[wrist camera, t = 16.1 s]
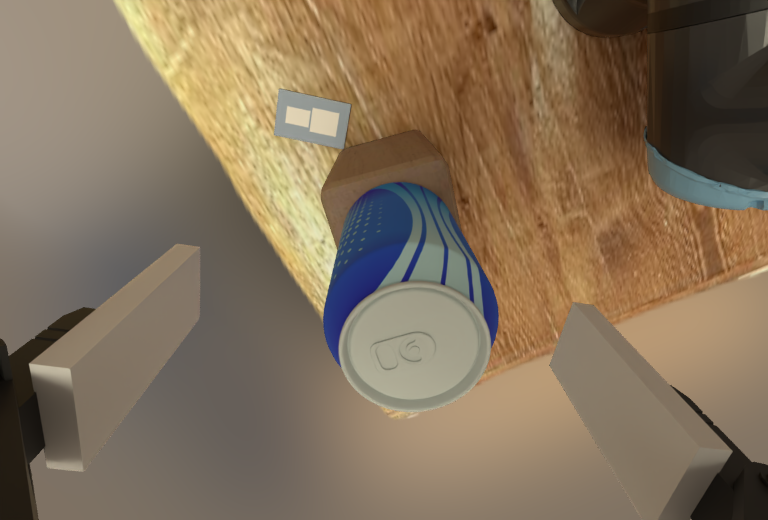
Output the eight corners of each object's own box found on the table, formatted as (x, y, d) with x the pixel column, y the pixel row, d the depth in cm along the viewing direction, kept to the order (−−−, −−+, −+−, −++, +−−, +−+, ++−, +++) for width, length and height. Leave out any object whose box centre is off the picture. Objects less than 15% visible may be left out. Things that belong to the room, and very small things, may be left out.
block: (439, 208, 53) (472, 276, 35) (360, 228, 54) (353, 305, 36) (421, 126, 50) (447, 154, 31) (337, 149, 50) (314, 189, 32)
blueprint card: (351, 104, 49) (351, 104, 48) (343, 148, 50) (343, 149, 50) (279, 88, 48) (278, 88, 47) (274, 134, 50) (273, 135, 49)
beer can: (365, 160, 31) (356, 232, 16) (470, 201, 33) (549, 302, 18) (328, 261, 34) (292, 398, 19) (426, 295, 36) (461, 448, 21)
